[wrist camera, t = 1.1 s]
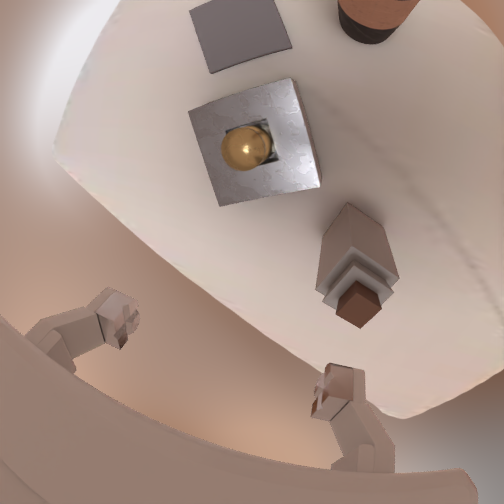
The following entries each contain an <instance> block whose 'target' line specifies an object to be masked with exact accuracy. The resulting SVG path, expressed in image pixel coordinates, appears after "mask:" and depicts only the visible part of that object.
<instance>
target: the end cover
mask: <svg viewBox="0 0 504 504" xmlns="http://www.w3.org/2000/svg"><path fill="white" fill-rule="evenodd" d="M275 151H276V147H275V144H274V140H273V137H272V134H271V130H270V127H269V126H267V125H264V124H255V125H250V126H246V127H241V128H237V129H234V130H232V131H230V132H229V133H227V134H226V136H225V137H224V139H223V141H222V144H221V153H222V157H223V159H224V161H225V162H226V163H227V164H228V165H229V166H230V167H231V168H233V169H235V170H238V171H248V170H251V169H254V168H255V167H257V166H258V165H259V164H260V163H262V162H263V161H264V160H266V159H267V158H268V157H270V156H271V155H272V154H273V153H274V152H275Z"/></svg>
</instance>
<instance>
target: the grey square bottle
mask: <svg viewBox="0 0 504 504" xmlns="http://www.w3.org/2000/svg"><path fill="white" fill-rule="evenodd" d="M398 280H399V275H398V272H397V268H396V265H395V262H394V258H393V255H392V252H391V249H390V246H389V243H388V240H387V237H386V234H385V231H384V228H383V227H382V226H381V225H379V224H378V223H376V222H375V221H374V220H372V219H371V218H369V217H368V216H367V215H365V214H364V213H362V212H361V211H359V210H358V209H357V208H355V207H354V206H352V205H351V204H349V203H348V202H347V204H346V205H345V207H344V208H343V209H342V211H341V212H340V214H339V215H338V216H337V218H336V219H335V221H334V222H333V223H332V225H331V226H330V228H329V229H328V230H327V232H326V233H325V234H324V236H323V238H322V246H321V253H320V261H319V268H318V275H317V282H316V288H315V290H316V291H318V292H320V293H321V294H323V295H325V297H324V299H323V301H322V302H324V303H325V304H327V305H329V306H330V307H332V308H334V309H336V315H338V316H339V317H341V318H343V319H344V320H346V321H348V322H350V323H351V324H353V325H355V326H357V327H358V328H360V329H361V328H362V327H363V326H364V325H365V324H366V323H367V322H368V321H369V320H370V319H371V318H373V317H374V316H375V315H376V314H377V313H378V312H379V311H380V310H381V309H382V308H381V305H382V304H383V303H384V302H385V301H386V300H387V299H388V298H389V297H390V296H391V295H392V294H393V293H394V292H393V290H392V289H391V287H392V286H393V285H394V284H395V283H396V282H397V281H398Z"/></svg>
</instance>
